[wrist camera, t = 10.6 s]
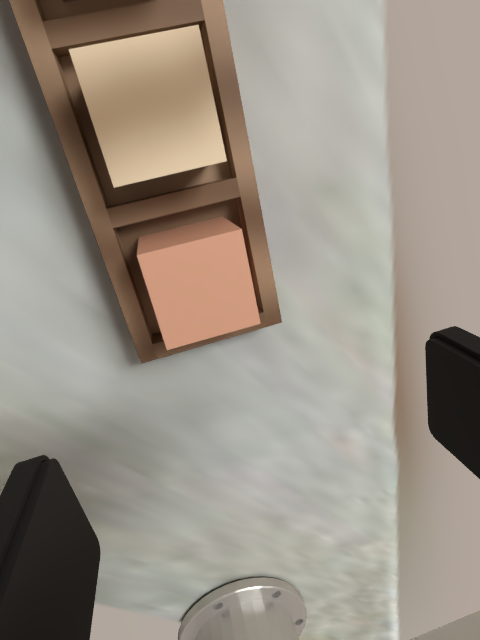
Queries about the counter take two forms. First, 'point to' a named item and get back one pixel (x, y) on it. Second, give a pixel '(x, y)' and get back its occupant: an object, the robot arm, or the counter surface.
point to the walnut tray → (162, 191)
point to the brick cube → (198, 281)
